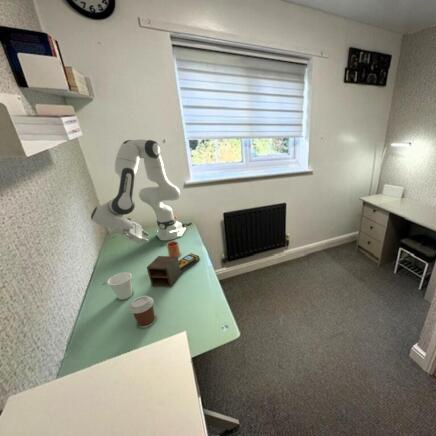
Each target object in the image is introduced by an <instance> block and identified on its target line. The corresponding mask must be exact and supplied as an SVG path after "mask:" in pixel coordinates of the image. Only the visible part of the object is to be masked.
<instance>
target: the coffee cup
mask: <svg viewBox="0 0 436 436" xmlns="http://www.w3.org/2000/svg"><path fill="white" fill-rule="evenodd" d="M154 303H155V301H154V298H152V297H151V296H148V295H140V296H137V297H136V298H134V299H133V300H132V301H131V303H130V305H129V307H128V309H129V312H130V313H131V314H133V316H134V318H135V320H136V322H137V324H138V326H139V327H140V328H143V329H145V328H148V327H151V326H152V325H153V324H154V323H155V322H156V316H155V310H154Z"/></svg>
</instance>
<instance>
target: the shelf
mask: <svg viewBox="0 0 436 436" xmlns="http://www.w3.org/2000/svg"><path fill="white" fill-rule="evenodd" d="M178 260H179V257H170V256H169V255H168V256H165V255H158V256H157V257H155V259H154V260H153V261H151V262H150V264H148V265H147V266H146V271H147V273H148V277H149V281H150V284H151V286H152V287H169V288H172V287H173V285H174V284H175V283H176V282H177V281H178V279H179V278H180V276H181V275H182V271H180V266H179V261H178Z"/></svg>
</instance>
